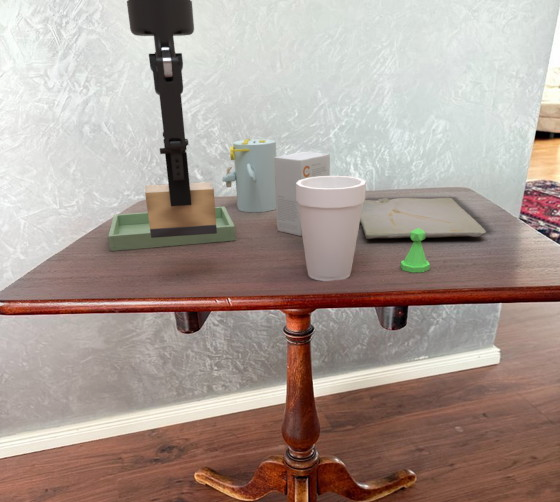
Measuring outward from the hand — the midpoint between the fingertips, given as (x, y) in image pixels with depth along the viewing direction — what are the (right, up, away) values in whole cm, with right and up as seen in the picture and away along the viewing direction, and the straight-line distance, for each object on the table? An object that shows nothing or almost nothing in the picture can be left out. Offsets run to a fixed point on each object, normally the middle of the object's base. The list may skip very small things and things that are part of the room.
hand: (180, 200), depth 75 cm
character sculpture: (+8, +12, +43) cm, 45 cm away
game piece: (+34, -8, +7) cm, 36 cm away
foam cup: (+21, -9, +5) cm, 24 cm away
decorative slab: (+39, +5, +29) cm, 49 cm away
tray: (-6, +2, +27) cm, 27 cm away
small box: (+18, +3, +27) cm, 33 cm away
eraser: (0, -4, +2) cm, 4 cm away
